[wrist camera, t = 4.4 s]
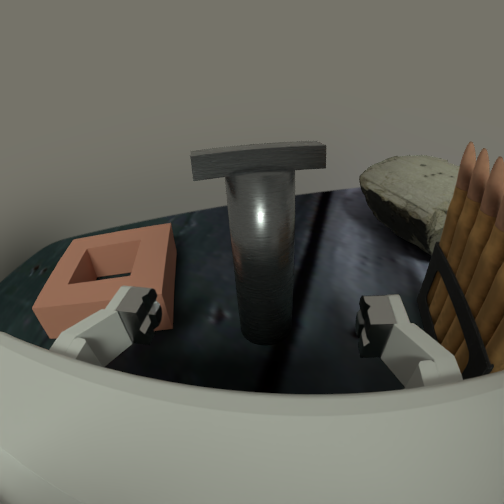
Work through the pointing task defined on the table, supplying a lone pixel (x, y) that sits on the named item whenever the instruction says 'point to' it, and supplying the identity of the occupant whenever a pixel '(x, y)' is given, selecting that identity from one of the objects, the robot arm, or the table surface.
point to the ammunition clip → (469, 270)
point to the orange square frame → (103, 264)
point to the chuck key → (261, 226)
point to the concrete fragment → (411, 196)
